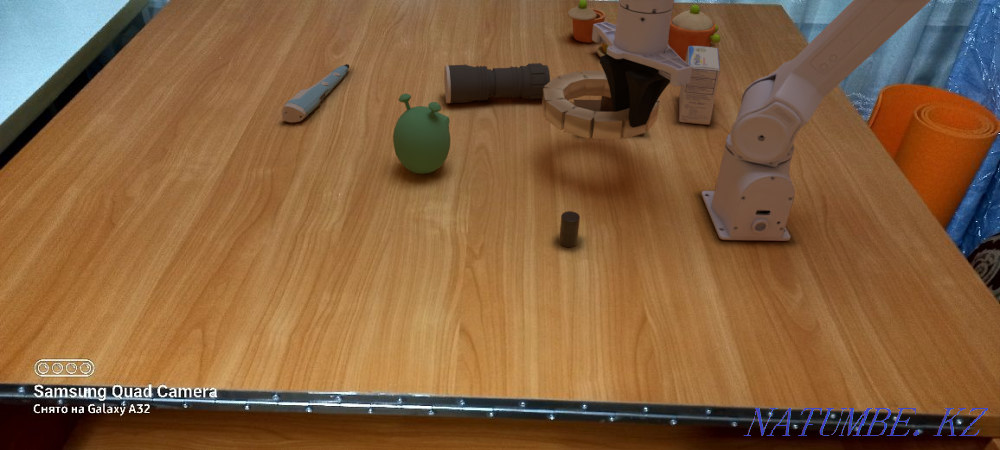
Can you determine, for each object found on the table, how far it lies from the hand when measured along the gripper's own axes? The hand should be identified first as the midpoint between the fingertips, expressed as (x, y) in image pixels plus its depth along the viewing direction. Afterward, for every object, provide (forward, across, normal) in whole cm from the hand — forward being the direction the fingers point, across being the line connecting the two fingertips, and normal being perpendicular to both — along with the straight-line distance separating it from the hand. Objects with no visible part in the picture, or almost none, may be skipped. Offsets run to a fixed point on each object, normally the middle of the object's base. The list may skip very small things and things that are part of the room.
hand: (629, 119), depth 86 cm
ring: (+2, -6, 0) cm, 6 cm away
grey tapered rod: (+9, -41, -24) cm, 48 cm away
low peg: (+9, +6, -12) cm, 17 cm away
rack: (+9, -15, +9) cm, 20 cm away
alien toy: (+9, -15, -19) cm, 26 cm away
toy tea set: (+9, -32, +30) cm, 45 cm away
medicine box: (+9, -10, +22) cm, 26 cm away
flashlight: (+9, -28, -1) cm, 29 cm away
